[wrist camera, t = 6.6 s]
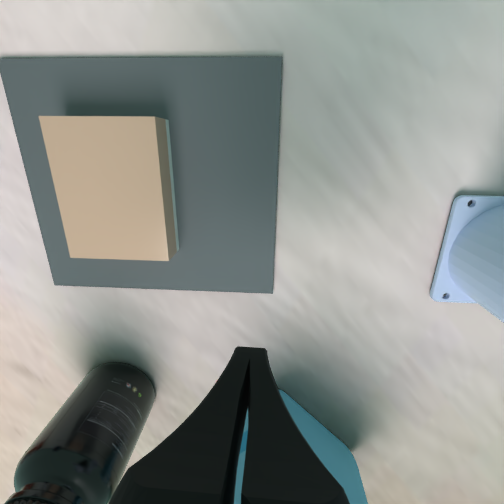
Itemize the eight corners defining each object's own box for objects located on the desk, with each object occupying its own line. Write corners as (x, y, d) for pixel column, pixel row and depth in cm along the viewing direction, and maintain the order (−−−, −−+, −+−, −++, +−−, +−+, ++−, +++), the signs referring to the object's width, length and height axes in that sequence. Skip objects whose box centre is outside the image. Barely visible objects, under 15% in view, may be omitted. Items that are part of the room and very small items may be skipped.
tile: (154, 116, 17) (38, 115, 17) (168, 261, 20) (70, 257, 20) (168, 120, 19) (65, 119, 19) (179, 249, 22) (90, 246, 22)
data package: (238, 404, 28) (216, 583, 16) (273, 380, 26) (275, 556, 15) (319, 470, 30) (348, 664, 19) (354, 451, 29) (408, 647, 18)
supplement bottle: (127, 424, 29) (38, 597, 18) (74, 383, 28) (-60, 543, 17) (172, 392, 27) (103, 563, 16) (117, 346, 26) (0, 498, 15)
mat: (281, 57, 17) (282, 56, 17) (272, 291, 23) (272, 293, 23) (0, 59, 18) (-4, 58, 18) (57, 283, 24) (54, 285, 24)
